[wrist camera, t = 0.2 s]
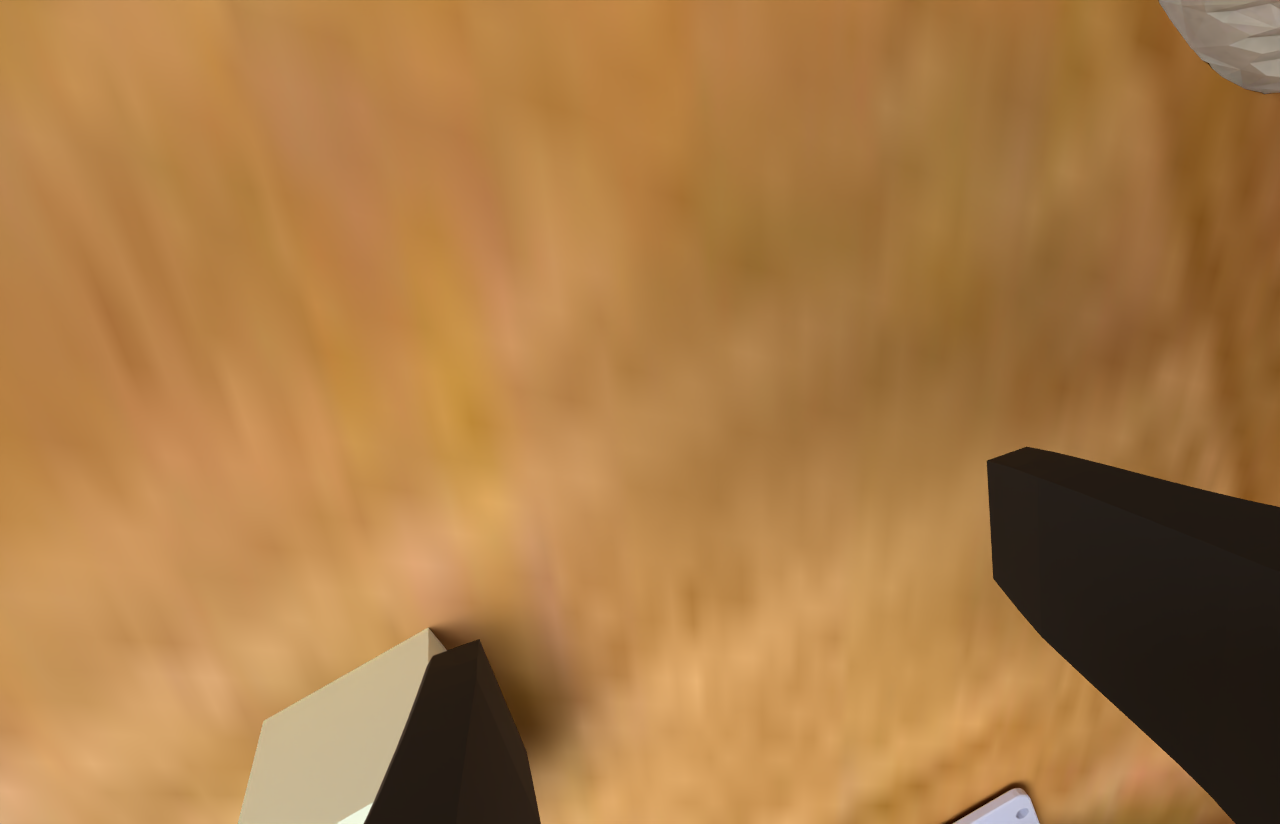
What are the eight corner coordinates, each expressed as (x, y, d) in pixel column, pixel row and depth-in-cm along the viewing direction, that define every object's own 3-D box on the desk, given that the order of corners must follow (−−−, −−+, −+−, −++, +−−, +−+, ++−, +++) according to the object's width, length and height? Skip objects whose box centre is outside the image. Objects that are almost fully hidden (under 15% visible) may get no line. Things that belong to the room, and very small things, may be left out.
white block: (520, 738, 24) (542, 891, 19) (372, 822, 24) (360, 998, 19) (428, 625, 22) (428, 770, 17) (264, 719, 21) (221, 889, 17)
